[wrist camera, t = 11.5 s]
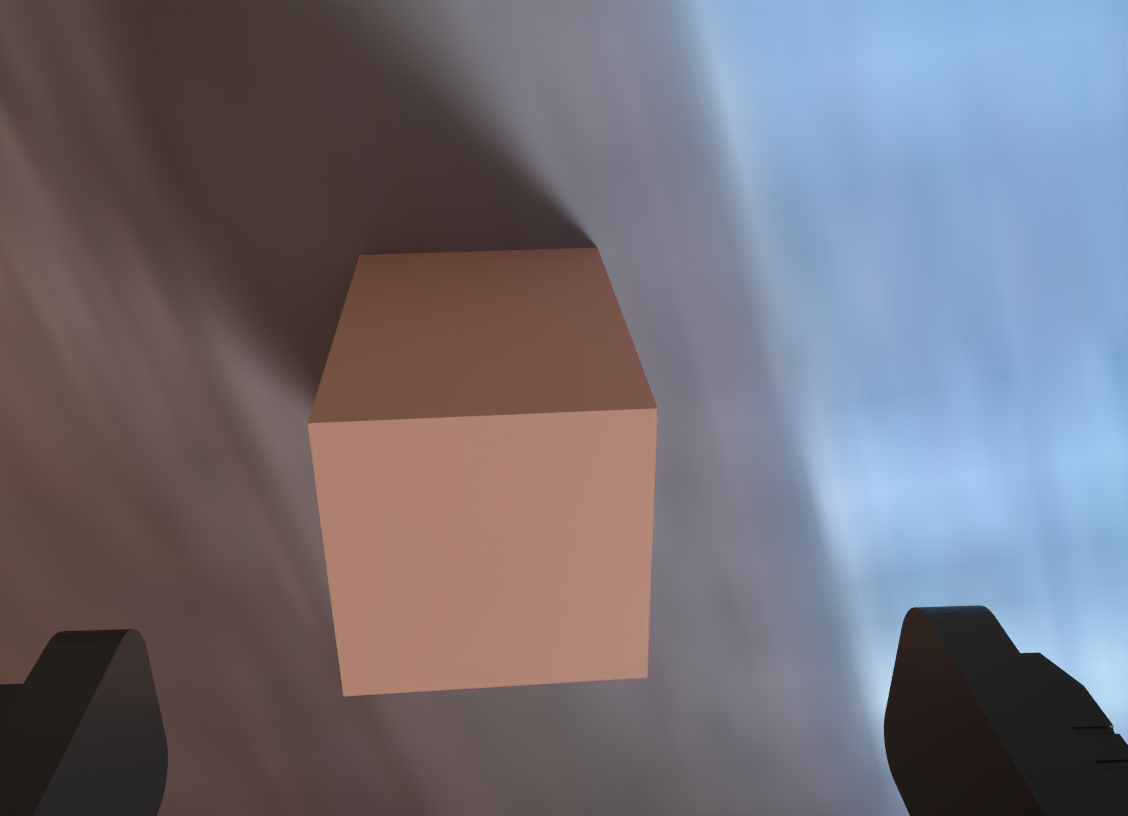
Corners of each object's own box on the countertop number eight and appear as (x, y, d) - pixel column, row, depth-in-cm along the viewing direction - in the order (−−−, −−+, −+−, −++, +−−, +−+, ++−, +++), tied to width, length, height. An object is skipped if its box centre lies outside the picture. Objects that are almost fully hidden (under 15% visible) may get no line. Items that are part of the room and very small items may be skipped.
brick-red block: (597, 247, 20) (657, 408, 13) (595, 453, 22) (647, 677, 15) (359, 254, 19) (307, 423, 13) (380, 463, 21) (343, 696, 15)
